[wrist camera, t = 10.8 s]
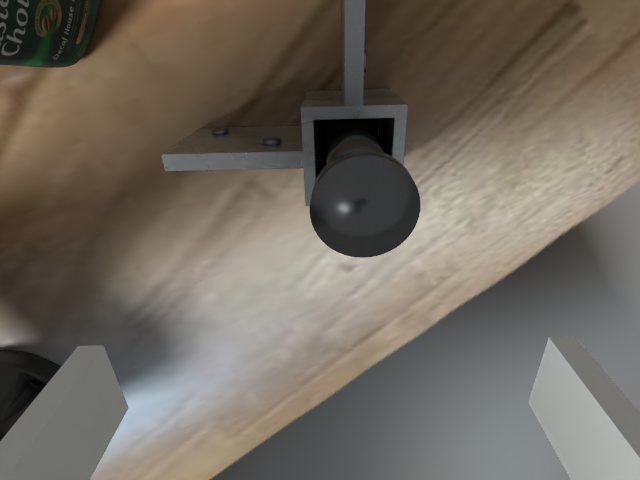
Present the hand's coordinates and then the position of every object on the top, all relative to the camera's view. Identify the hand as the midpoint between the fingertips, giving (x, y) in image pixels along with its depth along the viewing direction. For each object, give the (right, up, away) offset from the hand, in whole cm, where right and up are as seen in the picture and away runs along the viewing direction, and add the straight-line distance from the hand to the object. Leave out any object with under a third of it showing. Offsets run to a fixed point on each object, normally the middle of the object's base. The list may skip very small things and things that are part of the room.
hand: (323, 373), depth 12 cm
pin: (+3, +14, +23) cm, 27 cm away
